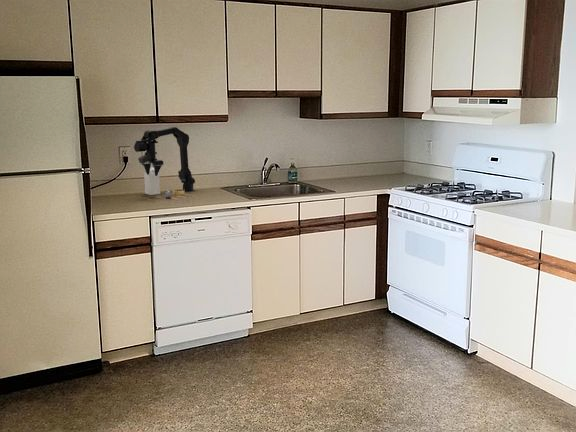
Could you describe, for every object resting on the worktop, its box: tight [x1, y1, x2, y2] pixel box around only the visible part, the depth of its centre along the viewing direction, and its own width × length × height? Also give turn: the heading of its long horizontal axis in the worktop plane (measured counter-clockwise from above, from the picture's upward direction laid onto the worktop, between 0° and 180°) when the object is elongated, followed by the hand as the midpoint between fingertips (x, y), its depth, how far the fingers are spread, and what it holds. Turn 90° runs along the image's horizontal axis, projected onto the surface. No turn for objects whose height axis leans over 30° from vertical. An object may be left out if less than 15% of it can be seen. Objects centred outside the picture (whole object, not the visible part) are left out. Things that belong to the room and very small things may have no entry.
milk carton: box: [143, 165, 161, 196], centre depth 380 cm, size 7×7×19 cm
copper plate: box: [156, 193, 194, 201], centre depth 372 cm, size 20×16×1 cm
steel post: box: [164, 189, 172, 200], centre depth 365 cm, size 4×4×5 cm
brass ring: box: [171, 188, 186, 196], centre depth 377 cm, size 7×7×3 cm
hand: (152, 175), depth 370 cm, fingers open, 9 cm apart
